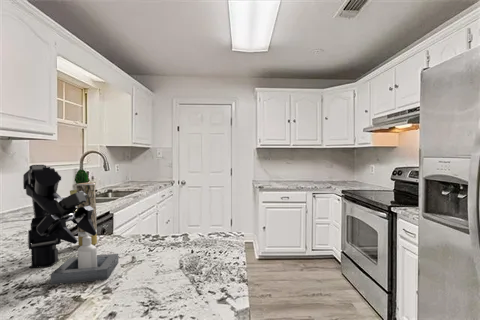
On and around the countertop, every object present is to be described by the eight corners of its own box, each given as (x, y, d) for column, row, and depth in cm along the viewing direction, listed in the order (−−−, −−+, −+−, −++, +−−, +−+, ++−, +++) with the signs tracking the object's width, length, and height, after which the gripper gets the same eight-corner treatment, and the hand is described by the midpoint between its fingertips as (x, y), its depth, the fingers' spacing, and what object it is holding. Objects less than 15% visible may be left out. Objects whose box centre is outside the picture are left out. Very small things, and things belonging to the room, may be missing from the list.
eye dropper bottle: (82, 277, 87) (81, 235, 87) (77, 272, 92) (76, 232, 92) (98, 273, 90) (97, 233, 90) (92, 268, 95) (91, 230, 95)
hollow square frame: (51, 285, 83) (50, 274, 83) (70, 266, 97) (70, 257, 97) (107, 279, 85) (107, 268, 85) (118, 262, 99) (118, 253, 99)
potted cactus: (64, 212, 210) (63, 169, 210) (81, 208, 225) (79, 168, 225) (83, 212, 207) (82, 168, 207) (99, 208, 222) (97, 168, 222)
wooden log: (89, 247, 119) (87, 183, 119) (74, 246, 120) (72, 184, 120) (100, 242, 126) (98, 182, 126) (86, 242, 127) (84, 182, 127)
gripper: (44, 186, 83) (83, 226, 81) (87, 181, 101) (119, 213, 100) (19, 215, 83) (57, 255, 82) (66, 205, 102) (98, 237, 101)
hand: (86, 238), depth 91 cm, fingers open, 9 cm apart
